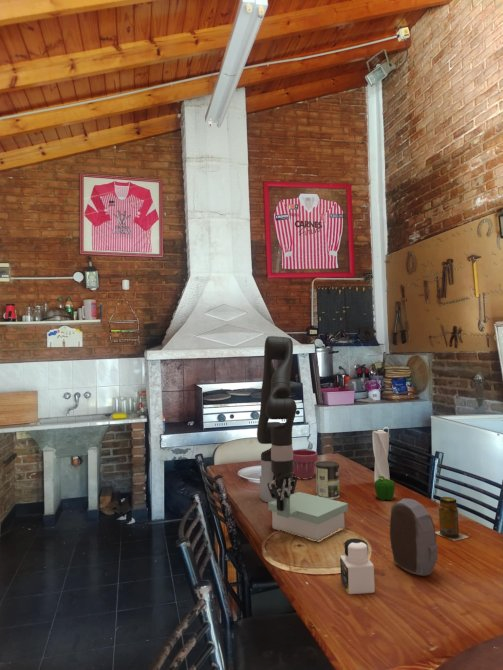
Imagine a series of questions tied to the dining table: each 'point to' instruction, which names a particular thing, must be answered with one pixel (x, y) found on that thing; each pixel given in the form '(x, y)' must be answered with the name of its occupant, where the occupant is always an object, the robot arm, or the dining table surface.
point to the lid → (309, 507)
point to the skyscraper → (381, 453)
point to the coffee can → (327, 479)
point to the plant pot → (304, 463)
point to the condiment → (449, 519)
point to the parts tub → (308, 526)
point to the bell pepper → (384, 488)
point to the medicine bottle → (357, 568)
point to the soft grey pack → (413, 537)
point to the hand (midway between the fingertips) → (283, 509)
